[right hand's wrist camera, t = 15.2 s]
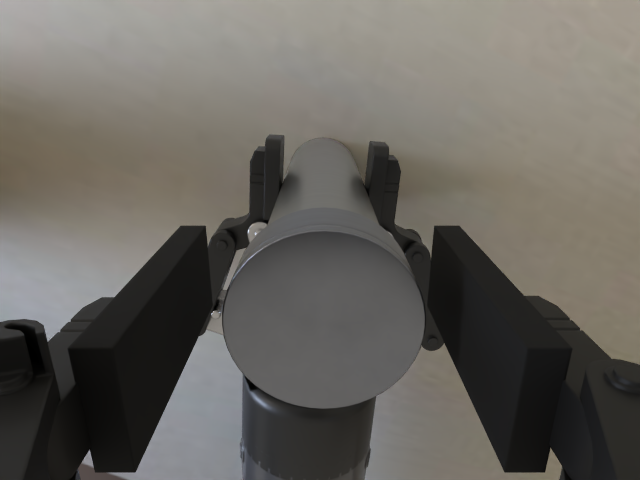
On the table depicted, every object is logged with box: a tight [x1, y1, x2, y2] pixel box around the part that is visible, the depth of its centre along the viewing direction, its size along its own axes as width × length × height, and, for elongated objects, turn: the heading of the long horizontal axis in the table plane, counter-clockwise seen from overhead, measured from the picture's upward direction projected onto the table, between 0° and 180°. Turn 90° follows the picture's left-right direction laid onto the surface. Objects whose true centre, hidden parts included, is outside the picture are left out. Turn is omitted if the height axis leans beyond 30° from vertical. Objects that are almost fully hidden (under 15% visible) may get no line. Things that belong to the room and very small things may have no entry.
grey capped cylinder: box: [267, 138, 379, 226], centre depth 20 cm, size 4×4×18 cm
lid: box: [222, 207, 426, 409], centre depth 12 cm, size 5×5×2 cm
